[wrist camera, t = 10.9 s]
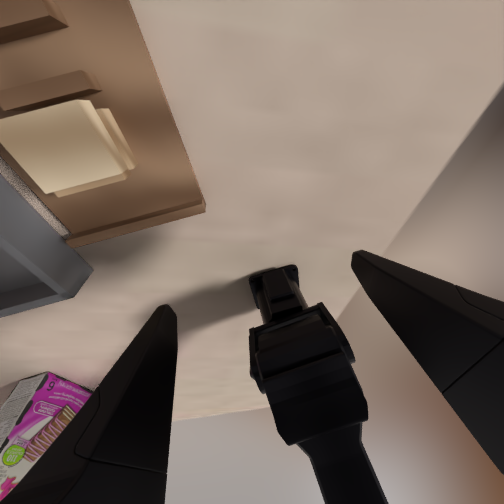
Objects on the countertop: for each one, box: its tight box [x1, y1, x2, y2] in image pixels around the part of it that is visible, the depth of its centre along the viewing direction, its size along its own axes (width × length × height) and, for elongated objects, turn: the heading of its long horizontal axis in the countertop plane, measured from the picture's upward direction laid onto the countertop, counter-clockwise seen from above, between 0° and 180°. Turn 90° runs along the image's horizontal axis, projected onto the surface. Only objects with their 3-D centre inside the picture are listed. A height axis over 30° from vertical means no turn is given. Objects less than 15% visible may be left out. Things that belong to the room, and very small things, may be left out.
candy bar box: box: [0, 372, 93, 501], centre depth 26 cm, size 11×5×16 cm, turn 15°
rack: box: [0, 0, 206, 248], centre depth 13 cm, size 16×12×2 cm
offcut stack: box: [0, 100, 139, 198], centre depth 13 cm, size 4×5×4 cm
